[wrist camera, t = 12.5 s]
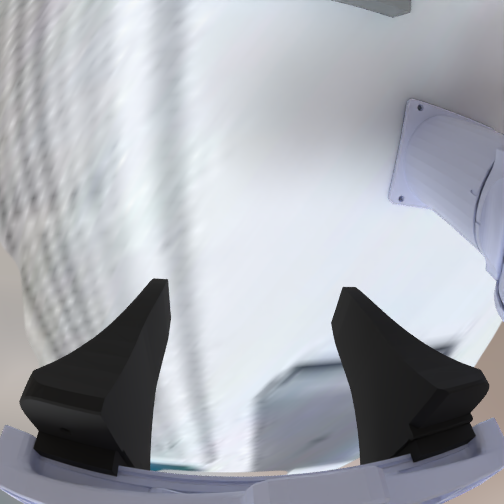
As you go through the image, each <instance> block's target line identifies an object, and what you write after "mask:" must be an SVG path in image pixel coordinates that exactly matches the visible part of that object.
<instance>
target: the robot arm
mask: <svg viewBox="0 0 504 504" xmlns="http://www.w3.org/2000/svg"><path fill="white" fill-rule="evenodd" d="M419 104H420V106H421V109H420V110H418V105H419ZM400 196H402V198H401V199H400V200H399V197H400ZM388 199H389V201H390V202H391V203H393V204H398V205H405V206H412V207H419V208H426V209H432V210H433V211H434V212H435V213H436V214H438V215H439V216H440V217H441V218H442V219H444V220H445V221H446V222H447V223H448V224H449V225H451V226H452V227H453V228H454V229H455V230H456V231H457V232H459V233H460V234H461V235H462V236H463V237H464V238H465V239H466V240H467V241H468V242H470V243H471V244H472V245H473V246H474V247H475V248H476V249H477V250H478V251H479V252H480V253H481V254H482V255H483V256H484V257H485V260H486V271H487V272H488V273H489V274H490V275H491V276H492V277H493V278H494V279H495V280H496V281H497V282H496V287H495V292H494V301H495V306H496V309H497V311H498V314H499V315H500V317H501V319H502V320H503V322H504V134H501V133H499V132H496V131H495V130H494V129H493V128H491V127H488V126H486V125H484V124H481V123H479V122H477V121H474V120H472V119H469V118H467V117H464V116H462V115H459V114H457V113H454V112H451V111H449V110H446V109H443V108H440V107H437V106H435V105H432V104H429V103H426V102H423V101H419V100H416V99H409V100H408V101H407V105H406V111H405V117H404V123H403V129H402V134H401V140H400V145H399V150H398V155H397V160H396V164H395V169H394V174H393V178H392V182H391V187H390V191H389V195H388ZM170 321H171V313H170V300H169V287H168V279H154V278H153V279H152V280H151V281H150V282H149V283H148V285H147V286H146V287H145V288H144V289H143V291H142V292H141V293H140V294H139V295H138V296H137V297H136V299H135V300H134V301H133V302H132V303H131V304H130V305H129V306H128V307H127V308H126V309H125V310H124V311H123V312H122V313H121V314H120V315H119V316H118V317H117V318H116V319H115V320H114V321H113V322H112V323H111V324H110V325H109V326H108V327H107V328H105V329H104V330H103V331H102V332H101V333H99V334H98V335H97V336H96V337H94V338H93V339H91V340H90V341H88V342H87V343H85V344H84V345H82V346H81V347H80V348H78V349H76V350H75V351H73V352H71V353H70V354H68V355H66V356H64V357H62V358H60V359H59V360H57V361H54V362H52V363H50V364H48V365H45V366H43V367H41V368H39V369H36V370H34V371H33V372H32V374H31V376H30V378H29V380H28V382H27V384H26V387H25V389H24V391H23V394H22V396H21V399H20V406H21V408H22V410H23V411H24V413H25V414H26V416H27V417H28V418H29V420H30V421H31V422H32V423H33V424H34V426H35V427H36V428H37V429H38V430H39V432H38V435H37V438H36V437H34V436H33V435H31V434H29V433H26V432H24V431H21V430H18V429H16V428H13V427H11V426H8V425H5V426H4V429H3V431H2V434H1V437H0V489H1V490H3V491H4V492H6V493H7V494H9V495H10V496H12V497H14V498H15V499H17V500H19V501H20V502H22V503H24V504H442V503H445V502H447V501H449V500H451V499H453V498H455V497H457V496H459V495H461V494H463V493H465V492H467V491H469V490H471V489H473V488H475V487H477V486H479V485H480V484H482V483H483V482H485V481H486V480H488V479H489V478H491V477H492V476H493V475H495V474H496V473H497V472H499V471H500V470H502V469H503V468H504V436H503V434H502V432H501V430H500V428H499V426H498V424H497V422H496V420H495V418H490V419H488V420H486V421H483V422H481V423H479V424H477V425H475V426H474V427H472V426H471V424H470V422H471V421H472V420H473V417H472V415H471V411H472V410H473V409H474V408H475V407H476V406H477V405H478V404H479V403H480V402H481V400H482V399H483V398H484V397H485V395H486V394H487V392H488V390H489V383H488V381H487V380H486V378H485V376H484V374H483V373H482V371H481V370H480V369H477V368H474V367H471V366H469V365H466V364H463V363H461V362H458V361H456V360H454V359H452V358H450V357H447V356H446V355H444V354H442V353H440V352H438V351H436V350H434V349H433V348H431V347H429V346H428V345H426V344H424V343H423V342H421V341H420V340H418V339H417V338H416V337H414V336H413V335H411V334H410V333H409V332H407V331H406V330H405V329H403V328H402V327H401V326H400V325H398V324H397V323H396V322H395V321H394V320H392V319H391V318H390V317H389V316H388V315H387V314H385V313H384V312H383V311H382V310H381V309H380V308H379V307H378V306H377V305H375V304H374V303H373V302H372V301H371V300H370V299H369V298H368V297H367V296H366V295H364V294H363V293H362V292H361V291H360V290H359V289H357V288H356V287H343V288H342V291H341V294H340V297H339V301H338V304H337V307H336V310H335V313H334V316H333V319H332V322H331V324H332V330H333V335H334V340H335V344H336V347H337V350H338V353H339V356H340V359H341V362H342V365H343V368H344V371H345V374H346V377H347V379H348V382H349V386H350V389H351V393H352V398H353V403H354V409H355V415H356V421H357V428H358V437H359V448H360V465H359V466H354V467H348V468H342V469H335V470H328V471H321V472H313V473H303V474H292V475H280V476H259V477H258V476H257V477H221V476H197V475H183V474H174V473H164V472H156V471H150V451H151V432H152V420H153V409H154V400H155V392H156V386H157V381H158V377H159V373H160V369H161V365H162V361H163V357H164V353H165V349H166V345H167V341H168V336H169V329H170Z"/></svg>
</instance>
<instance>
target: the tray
mask: <svg viewBox="0 0 504 504" xmlns="http://www.w3.org/2000/svg"><path fill="white" fill-rule="evenodd" d="M332 1H336V2H341V3H345V4H349V5H353V6H356V7H360V8H364V9H367V10H371V11H374V12H377V13H380V14H383V15H387V16H390V17H392V18H393V17H396V16H400V15H403V14H407V13H410V9H411V0H332Z"/></svg>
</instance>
